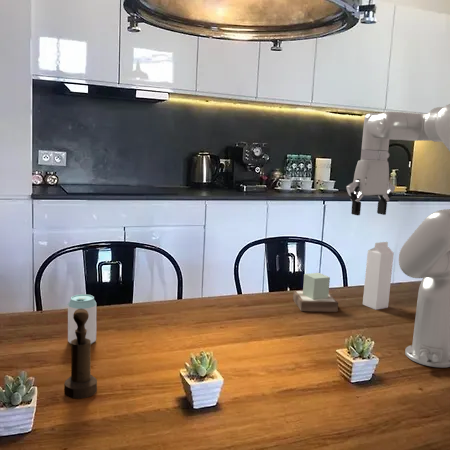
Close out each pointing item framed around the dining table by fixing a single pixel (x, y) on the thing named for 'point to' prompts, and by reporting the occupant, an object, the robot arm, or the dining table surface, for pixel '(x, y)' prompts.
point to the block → (316, 285)
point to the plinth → (315, 303)
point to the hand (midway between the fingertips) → (368, 214)
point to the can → (90, 305)
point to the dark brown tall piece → (80, 362)
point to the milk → (378, 276)
